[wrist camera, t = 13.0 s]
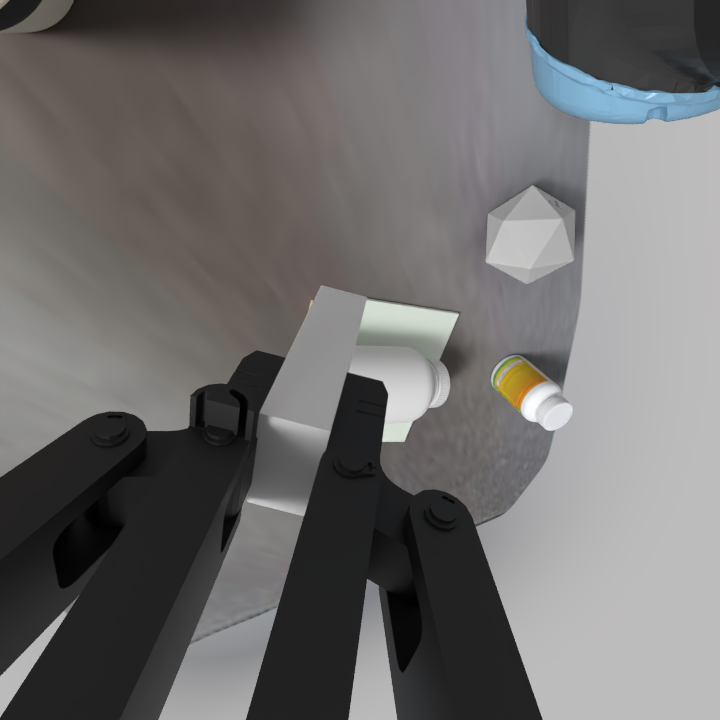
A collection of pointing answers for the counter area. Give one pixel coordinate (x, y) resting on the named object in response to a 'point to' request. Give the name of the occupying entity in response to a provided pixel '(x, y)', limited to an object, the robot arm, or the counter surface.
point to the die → (530, 235)
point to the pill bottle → (403, 379)
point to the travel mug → (31, 14)
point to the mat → (405, 338)
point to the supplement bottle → (531, 392)
